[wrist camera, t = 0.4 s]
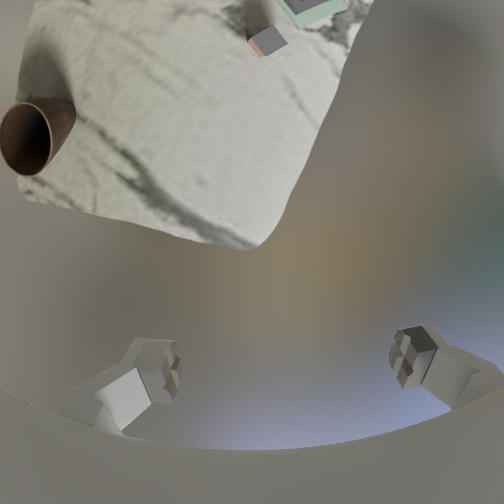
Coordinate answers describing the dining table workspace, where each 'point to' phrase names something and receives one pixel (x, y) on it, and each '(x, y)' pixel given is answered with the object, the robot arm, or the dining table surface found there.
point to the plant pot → (35, 133)
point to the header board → (310, 10)
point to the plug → (267, 41)
